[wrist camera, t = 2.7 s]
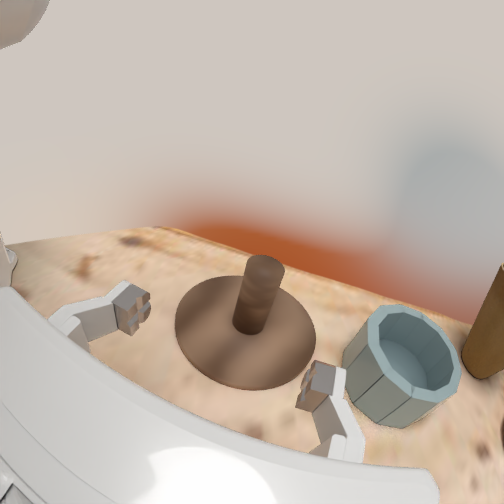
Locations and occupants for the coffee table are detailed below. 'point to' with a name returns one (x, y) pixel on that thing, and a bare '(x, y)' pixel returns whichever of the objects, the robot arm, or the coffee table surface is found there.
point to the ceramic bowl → (400, 366)
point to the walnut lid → (246, 328)
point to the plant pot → (487, 334)
